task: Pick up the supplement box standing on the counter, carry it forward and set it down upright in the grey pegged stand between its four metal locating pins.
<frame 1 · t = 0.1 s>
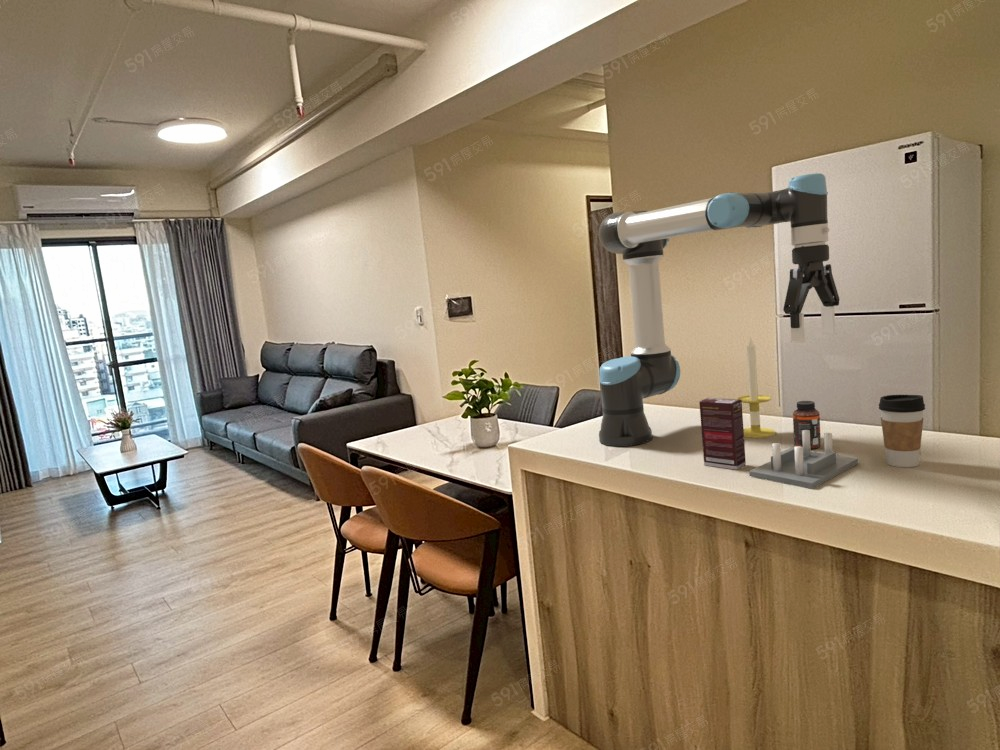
hand: (813, 338, 142), 28 cm above the countertop, fingers open, 13 cm apart
supplement bottle: (807, 447, 152), on the countertop
supplement box: (724, 465, 146), on the countertop
grey pegged stand: (803, 470, 136), on the countertop
candle: (755, 433, 169), on the countertop
coffee cup: (902, 464, 133), on the countertop
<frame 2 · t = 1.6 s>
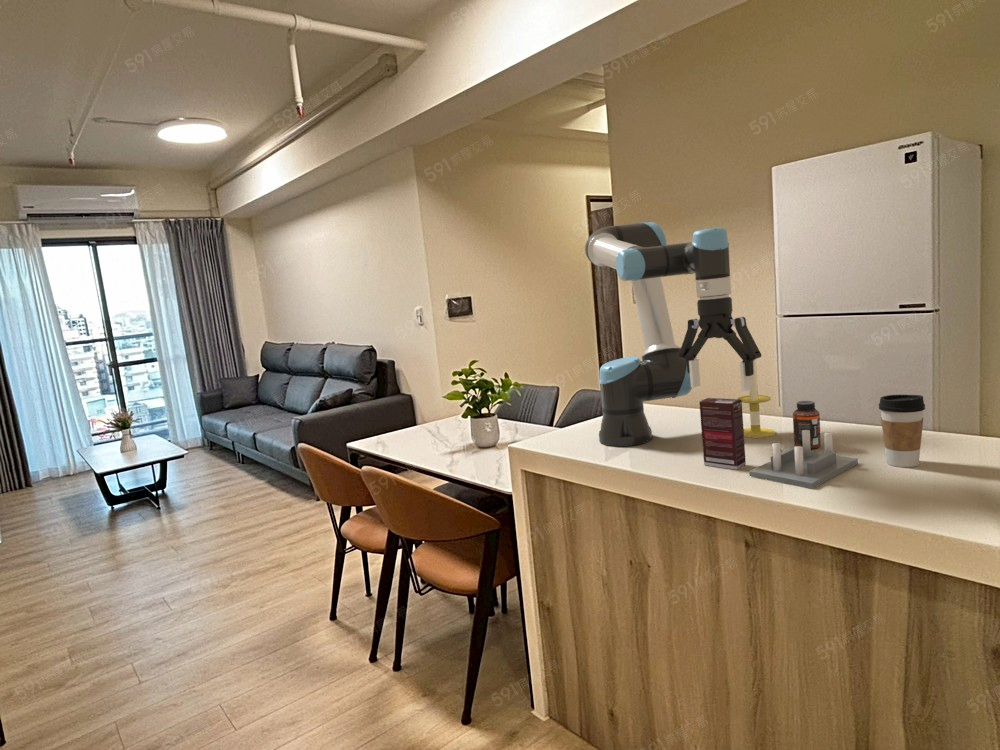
hand: (720, 388, 143), 19 cm above the countertop, fingers open, 13 cm apart
nothing on the countertop moved.
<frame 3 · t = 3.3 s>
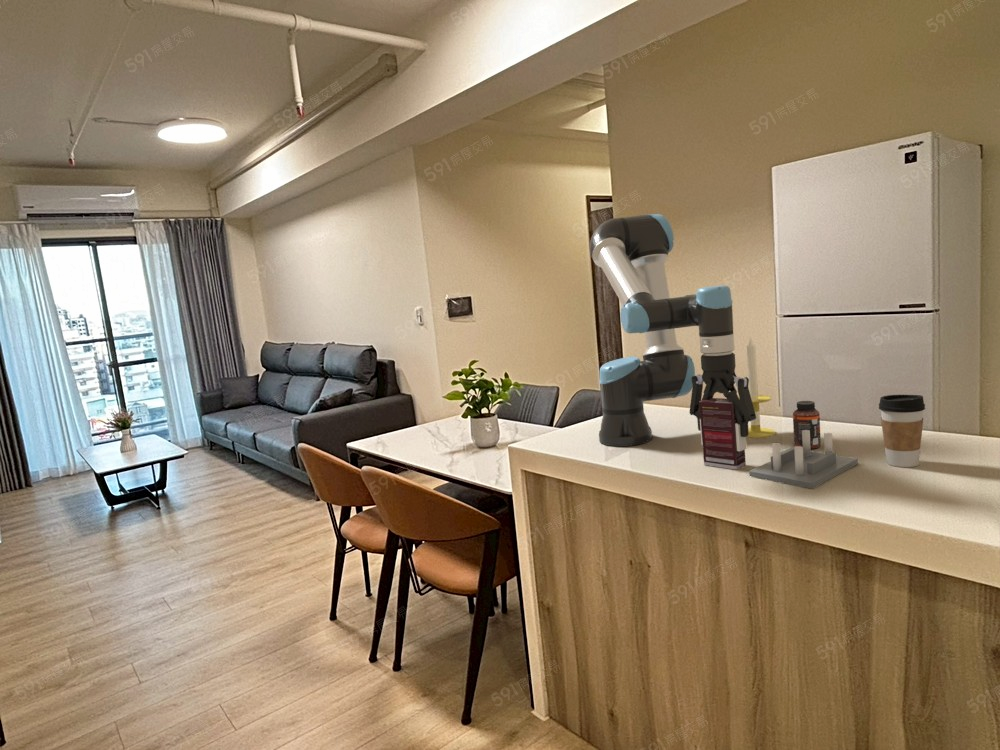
hand: (723, 446, 145), 4 cm above the countertop, fingers closed on supplement box, 9 cm apart
supplement box: (724, 465, 146), on the countertop, touching gripper
everything else where it was.
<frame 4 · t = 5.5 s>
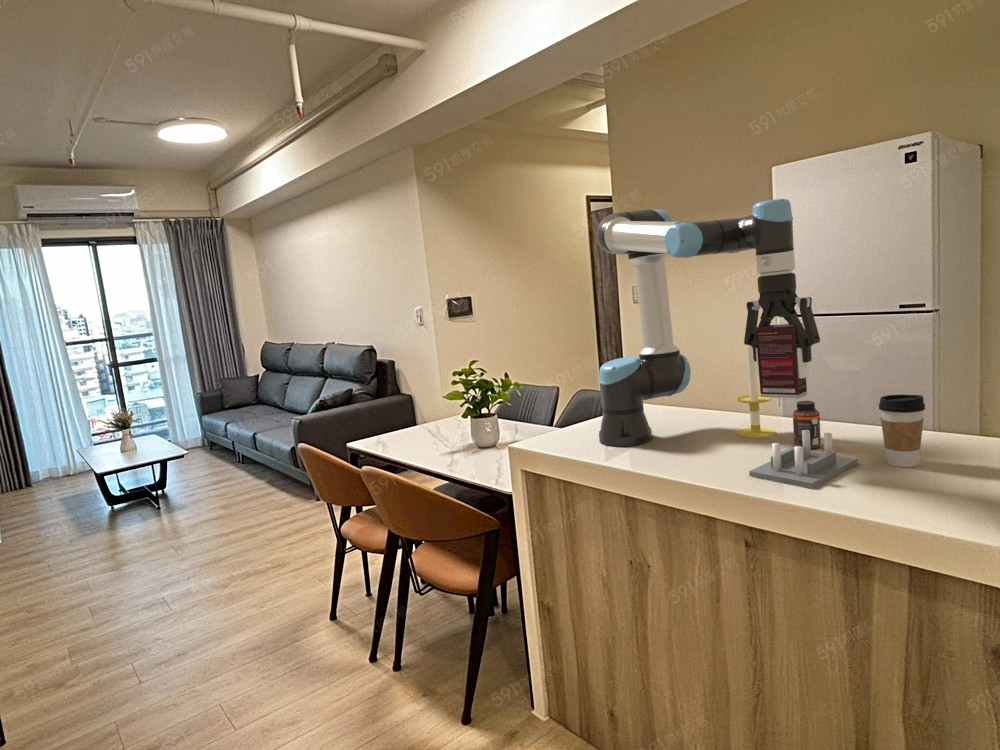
hand: (782, 376, 135), 21 cm above the countertop, fingers closed on supplement box, 9 cm apart
supplement box: (783, 397, 135), point 17 cm above the countertop, touching gripper
everything else where it was.
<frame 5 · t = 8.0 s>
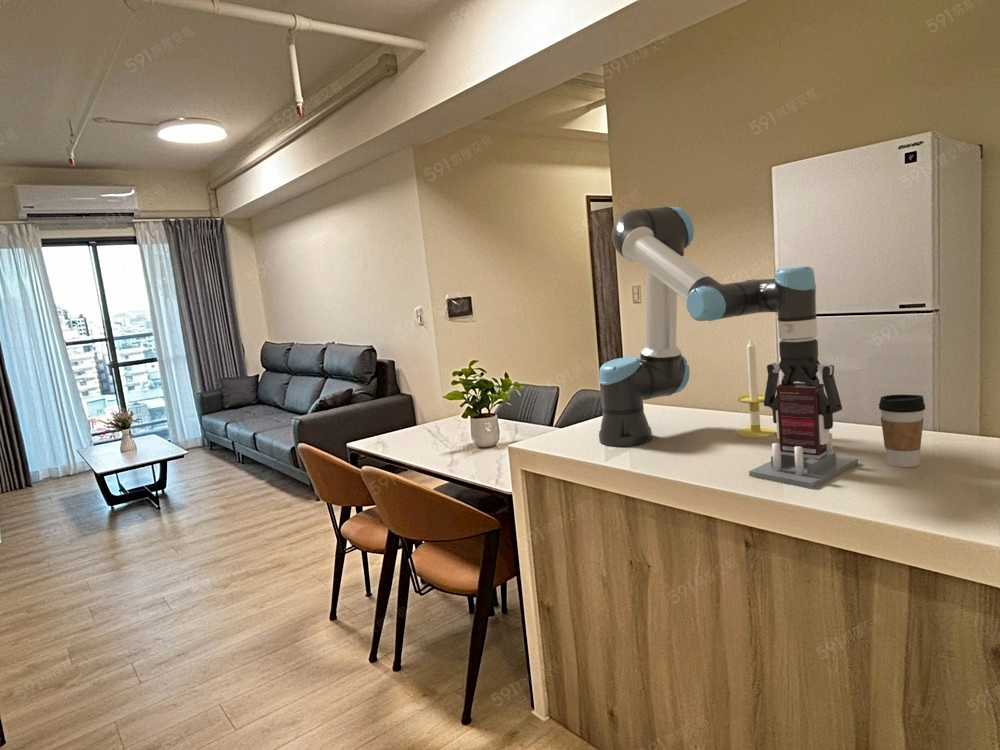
hand: (802, 440, 135), 7 cm above the countertop, fingers closed on supplement box, 9 cm apart
supplement box: (803, 455, 136), point 3 cm above the countertop, touching gripper, grey pegged stand
everything else where it was.
when the fingers open (7 cm above the countertop, at t = 8.8 s): supplement box stays where it is, resting on grey pegged stand.
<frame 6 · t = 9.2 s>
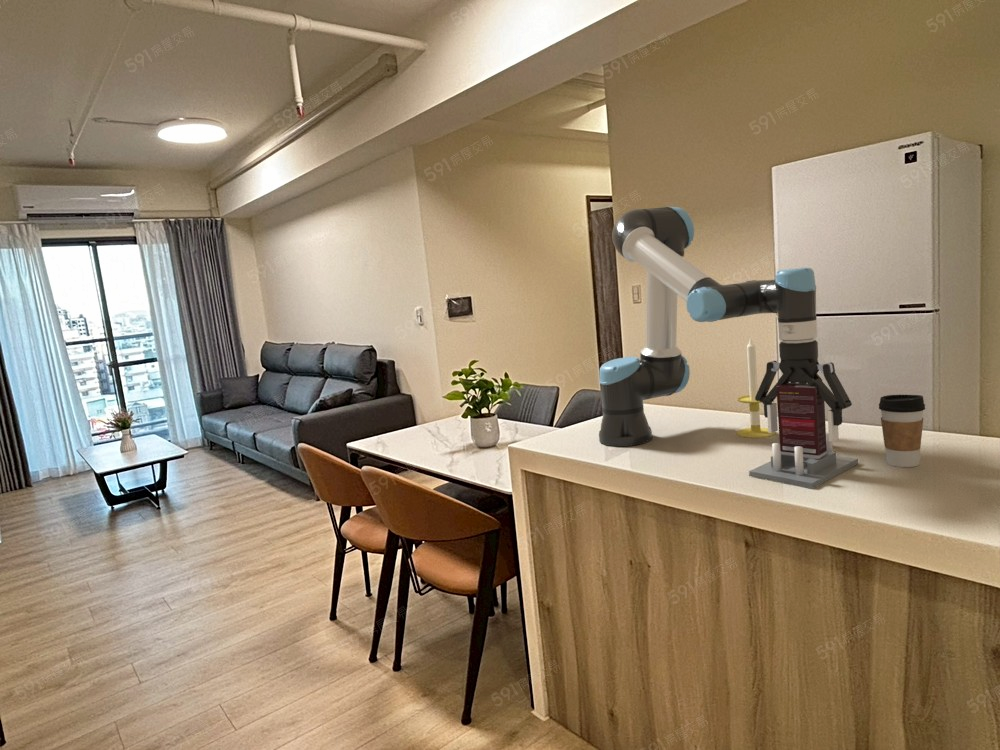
hand: (802, 435, 135), 8 cm above the countertop, fingers open, 13 cm apart
supplement box: (803, 455, 136), point 3 cm above the countertop, touching grey pegged stand
everything else where it was.
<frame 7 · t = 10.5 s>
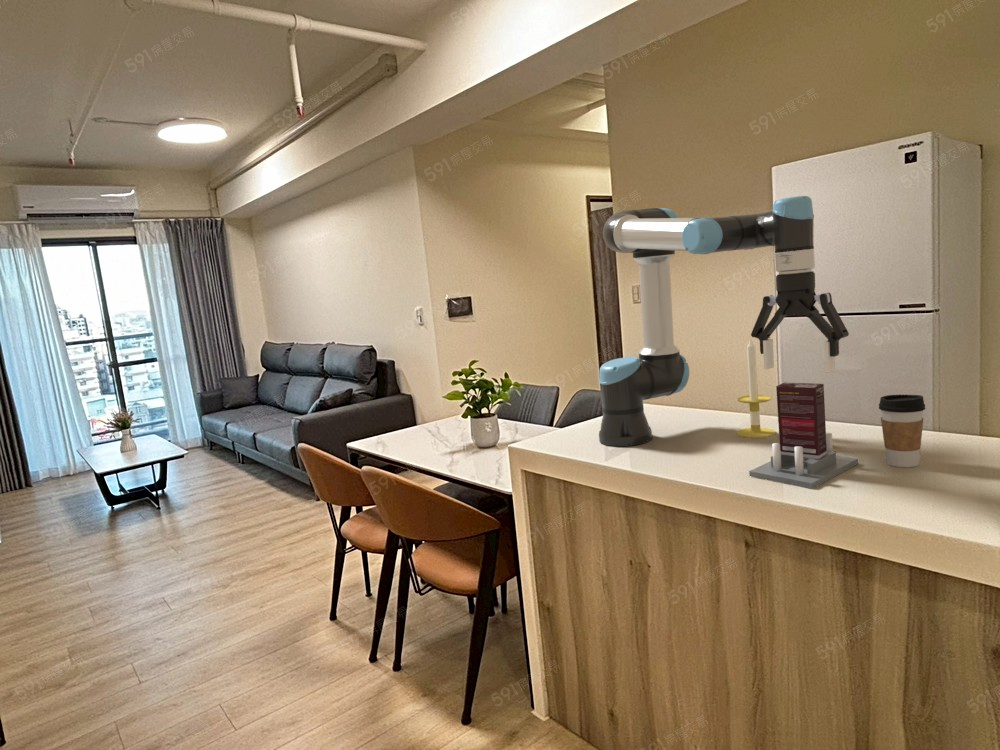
hand: (798, 370, 133), 23 cm above the countertop, fingers open, 13 cm apart
nothing on the countertop moved.
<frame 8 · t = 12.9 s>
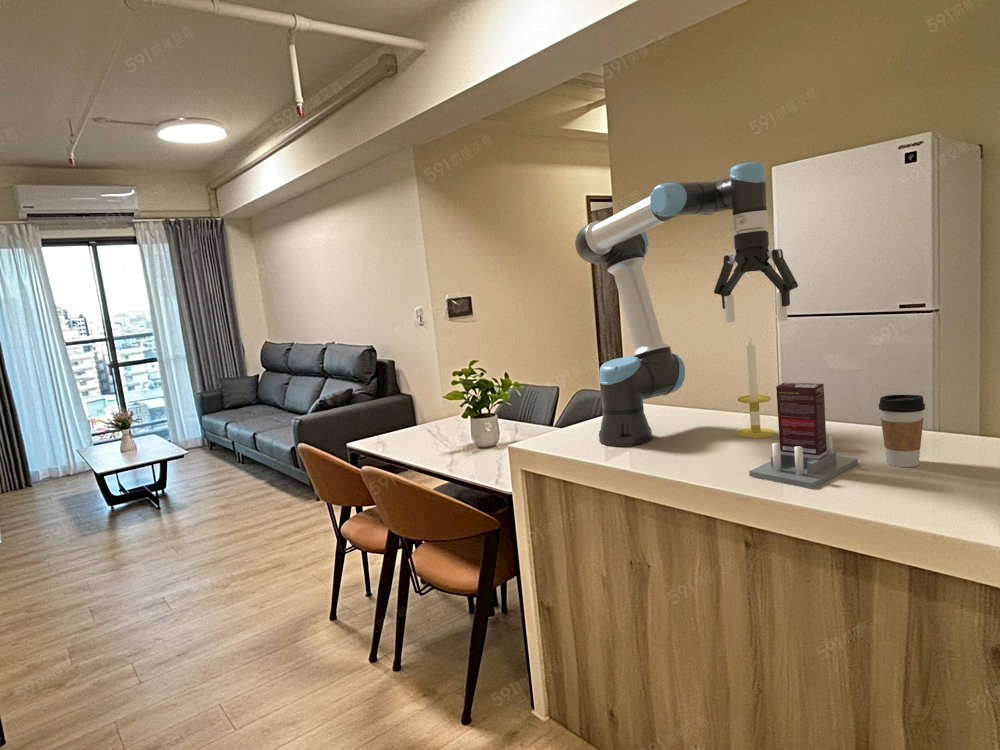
hand: (755, 321, 147), 33 cm above the countertop, fingers open, 13 cm apart
nothing on the countertop moved.
at the end: supplement box 0.1 cm off-centre on the grey pegged stand, point 3.4 cm above the grey pegged stand's base; supplement box tilted 0°; the gripper is holding nothing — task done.
